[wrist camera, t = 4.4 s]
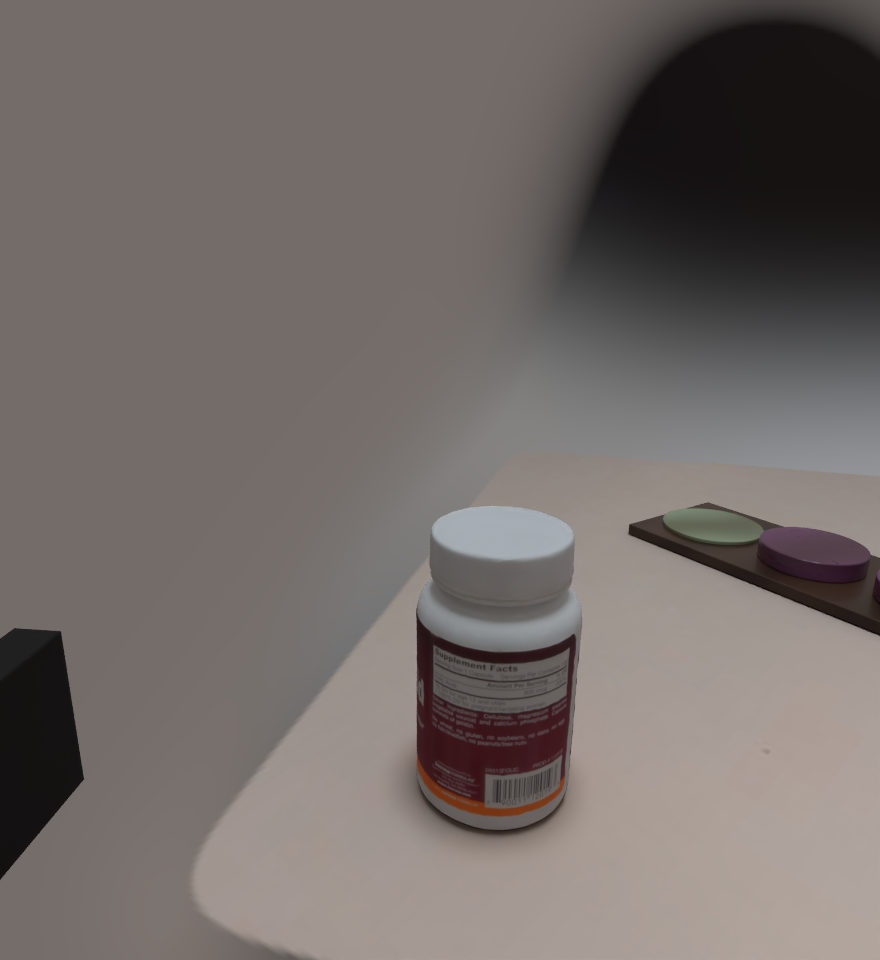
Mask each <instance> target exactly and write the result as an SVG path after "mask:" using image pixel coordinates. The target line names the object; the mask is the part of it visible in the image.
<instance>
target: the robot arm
mask: <svg viewBox="0 0 880 960" xmlns="http://www.w3.org/2000/svg"><path fill="white" fill-rule="evenodd" d="M83 780H84V777H83V770H82V764H81V757H80V751H79V745H78V738H77V732H76V725H75V720H74V713H73V706H72V700H71V693H70V687H69V681H68V674H67V668H66V661H65V655H64V649H63V642H62V636H61V631H47V630H31V629H16V628H15V629H13V630H12V631H10V632H9V633H7V634H6V635H5V636H3V637H2V638H1V639H0V879H1V878H2V877H3V876H4V875H5V873H6V872H7V871H8V870H9V869H10V867H11V866H12V865H13V864H14V862H15V861H16V860H17V859H18V858H19V857H20V855H21V854H22V853H23V852H24V851H25V849H26V848H27V847H28V845H30V843H31V842H32V841H33V840H34V839H35V837H36V836H37V835H38V834H39V833H40V831H41V830H42V829H43V828H44V826H45V825H46V824H47V823H48V822H49V821H50V819H51V818H52V817H53V816H54V814H55V813H56V812H57V811H58V810H59V809H60V807H61V806H62V805H63V804H64V803H65V801H66V800H67V799H68V798H69V796H70V795H71V794H72V793H73V792H74V791H75V789H76V788H77V787H78V786H79V784H80V783H81V782H82V781H83Z"/></svg>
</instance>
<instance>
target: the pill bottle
mask: <svg viewBox="0 0 880 960" xmlns="http://www.w3.org/2000/svg"><path fill="white" fill-rule="evenodd" d="M430 543H431V544H430V569H431V576H432V579H431V580H430V581H429V582H428V583H427V584H426V585H425V587H424V588H423V590H422V592H421V594H420V597H419V600H418V605H417V609H416V616H417V777H418V782H419V784H420V787H421V789H422V791H423V793H424V794H425V796H426V798H427V799H428V800H429V801H430V802H431V803H432V804H433V805H434V806H435V807H436V808H437V809H439V810H440V811H441V812H443V813H445V814H446V815H448V816H449V817H451V818H453V819H455V820H457V821H460V822H462V823H465V824H467V825H470V826H474V827H477V828H482V829H490V830H507V829H514V828H520V827H524V826H527V825H530V824H532V823H534V822H537V821H539V820H541V819H543V818H544V817H546V816H547V815H548V814H550V813H551V812H552V811H553V810H554V809H555V808H556V807H557V805H558V804H559V803H560V801H561V800H562V798H563V796H564V794H565V791H566V789H567V784H568V776H569V768H570V754H571V744H572V733H573V718H574V710H575V694H576V683H577V668H578V661H579V649H580V639H581V629H582V610H581V605H580V602H579V600H578V598H577V595H576V594H575V593H574V591H573V590H572V589H571V588H570V585H571V582H572V575H573V572H574V565H573V562H574V544H575V538H574V534H573V531H572V529H571V528H570V527H569V526H568V525H567V524H566V523H565V522H563V521H561V520H560V519H558V518H556V517H553V516H550V515H548V514H545V513H542V512H539V511H535V510H531V509H525V508H518V507H506V506H482V507H472V508H466V509H462V510H458V511H454V512H451V513H448V514H446V515H444V516H442V517H441V518H439V519H438V520H437V521H436V522H435V523H434V525H433V527H432V530H431V539H430Z"/></svg>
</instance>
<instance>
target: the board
mask: <svg viewBox="0 0 880 960" xmlns="http://www.w3.org/2000/svg"><path fill="white" fill-rule="evenodd" d="M629 534H631V535H634V536H636V537H639V538H641V539H644V540H646V541H649V542H651V543H654V544H656V545H659V546H661V547H664V548H666V549H669V550H671V551H674V552H676V553H679V554H681V555H684V556H686V557H688V558H691V559H693V560H696V561H698V562H701V563H703V564H706V565H708V566H711V567H713V568H716V569H718V570H721V571H723V572H726V573H728V574H731V575H733V576H736V577H738V578H741V579H743V580H746V581H748V582H751V583H753V584H756V585H758V586H761V587H763V588H766V589H768V590H771V591H773V592H776V593H778V594H780V595H783V596H785V597H788V598H790V599H793V600H795V601H798V602H800V603H803V604H805V605H808V606H810V607H813V608H815V609H818V610H820V611H823V612H825V613H828V614H830V615H833V616H835V617H838V618H840V619H843V620H845V621H848V622H850V623H853V624H855V625H858V626H860V627H863V628H865V629H868V630H870V631H872V632H875V633H877V634H880V558H879V557H875V556H872V555H871V554H870V552H869V551H868V549H867V548H865V547H864V546H863V545H861V544H860V543H858V542H856V541H854V540H851V539H849V538H846V537H844V536H841V535H838V534H834V533H830V532H826V531H821V530H816V529H809V528H800V527H782V526H779V525H776V524H773V523H770V522H767V521H764V520H761V519H758V518H755V517H751V516H748V515H745V514H742V513H739V512H736V511H733V510H730V509H727V508H724V507H720V506H717V505H714V504H711V503H704V504H701V505H697V506H694V507H690V508H686V509H679V510H674V511H671V512H669V513H667V514H665V515H661V516H658V517H654V518H651V519H647V520H643V521H640V522H636V523H633V524H630V525H629Z"/></svg>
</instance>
